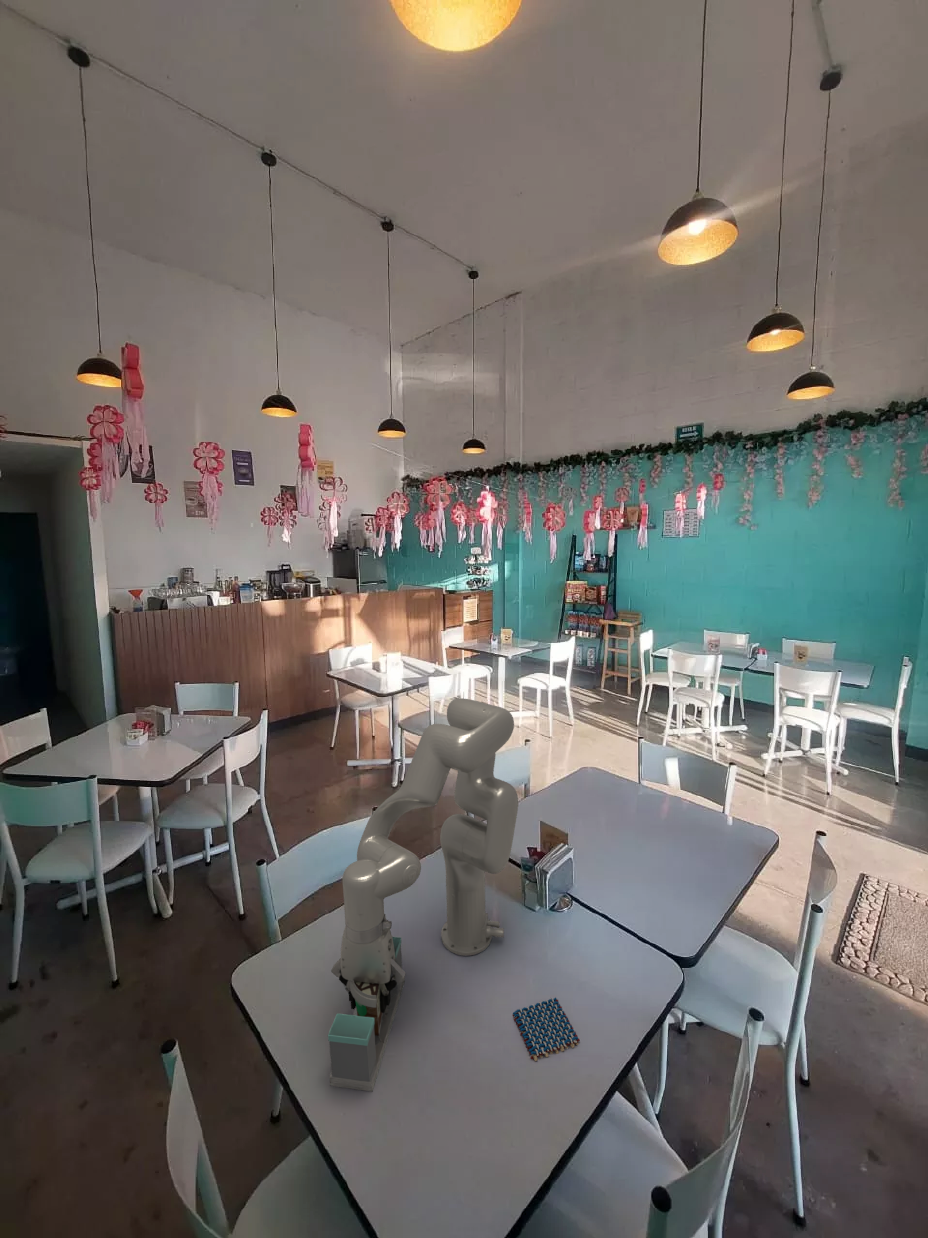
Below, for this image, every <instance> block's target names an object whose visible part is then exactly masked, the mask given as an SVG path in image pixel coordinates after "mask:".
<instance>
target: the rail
mask: <svg viewBox="0 0 928 1238" xmlns="http://www.w3.org/2000/svg"><path fill="white" fill-rule="evenodd" d="M405 982H406V977H405V978H404V980H403V981H402V982H400V983H399V986H398V989H392V990H391V991H390V995H391V1000H390V1004H389V1006H386V1010H385V1013H383V1015H382V1021H381V1027H380V1033H379V1036H375V1049H376V1062H375V1065H374V1068H373V1071H372V1075H371V1078H370V1081H369V1082H365V1081H358V1080H351V1079H343V1078H336V1077H332V1070H331V1071H330V1073H329V1086H330V1087H335V1088H344V1089H352V1090H356V1091H357V1090H358V1091H364V1092H371V1093H372V1092H373V1091H374V1087H375V1084H376V1081H377V1078H378V1074H379V1071H380V1067H381V1064H382V1060H383V1058H384V1054H385V1050H386V1047H387V1043H388V1040H389V1037H390V1034H391V1029H392V1027H393V1023H394V1019H395V1016H396V1012H397V1011H398V1006H399V1003H400V999H401V996H402V993H403V989H404V985H405ZM352 1015H354V1016H357V1009H356V1008H355V1009H354V1011H353V1014H352Z"/></svg>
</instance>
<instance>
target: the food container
mask: <svg viewBox="0 0 928 1238" xmlns="http://www.w3.org/2000/svg"><path fill="white" fill-rule="evenodd" d="M350 990H351V993H352V995H353V997H354V998H355V1002H356V1009H357V1016H362V1017H371V1018H374V1020H375V1024H374V1032H375V1036H379V1033H380V1027H381V1021H382V1015H383V1013H382V1012H381V1007H380V994H381V989H380V986H379V984H378V983H368V982H359V981H354V980H353V981H351V982H350Z"/></svg>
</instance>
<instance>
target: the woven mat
mask: <svg viewBox="0 0 928 1238" xmlns="http://www.w3.org/2000/svg"><path fill="white" fill-rule="evenodd" d="M512 1017H514V1018H513V1021H514V1022H515V1024H516V1026H517V1028H518V1031H519V1032H520V1036H521V1038H522V1039H523V1042H524V1044H525V1047H526V1050H527V1051H528V1054H529V1055H530V1060H533V1061H534V1062H537V1061H538V1058H540V1059H542V1058H543V1055H544V1057H545V1058H548V1057H549V1054H550V1055H553V1054H554V1053H553V1052H555V1054H556V1055H558V1054H560V1052H564V1051H565V1049H569V1046H570V1048H572V1049H573V1048H575V1045H576V1046H579V1042H580V1041H581V1040H580V1038H579V1037H578V1034H577V1032H576V1031H575V1030H574V1027H573V1025H572V1024H571V1022H570V1020H569V1018H568V1016H567V1015H566V1013H565V1011H564V1010H563V1006H561V1004H560V1003H559V999H558V998H557V997H554V998H552V997H550V998H549V999H545V1001H543V1000H541V1002H540V1001H539V1002H536V1003H535V1004H533V1003H532V1004H530V1005H529V1006H528V1005H527V1006H526V1007H522V1008H519V1009H518V1008H517V1009H516V1010H515V1011H514V1012H512Z"/></svg>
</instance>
